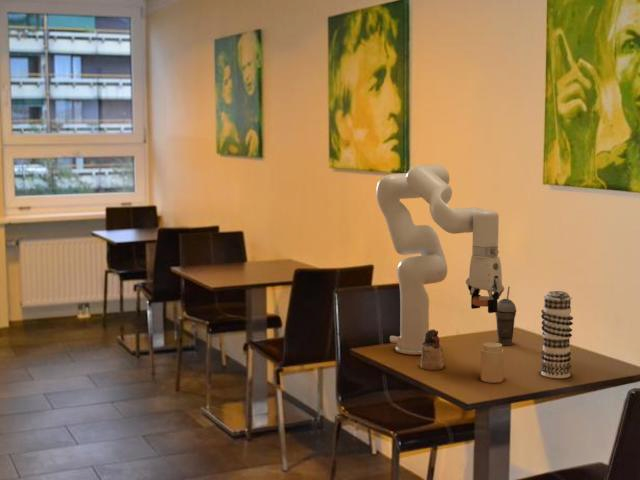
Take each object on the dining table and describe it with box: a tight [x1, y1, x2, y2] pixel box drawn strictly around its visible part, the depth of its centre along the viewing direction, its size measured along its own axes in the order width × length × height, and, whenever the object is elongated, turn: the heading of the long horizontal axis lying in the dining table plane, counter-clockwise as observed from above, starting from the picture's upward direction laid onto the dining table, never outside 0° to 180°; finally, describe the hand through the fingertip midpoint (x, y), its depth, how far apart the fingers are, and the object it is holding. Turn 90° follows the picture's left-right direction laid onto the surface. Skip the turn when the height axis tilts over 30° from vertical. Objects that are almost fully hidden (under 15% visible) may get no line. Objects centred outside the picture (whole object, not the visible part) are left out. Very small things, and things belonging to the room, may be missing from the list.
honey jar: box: [480, 341, 505, 384], centre depth 263 cm, size 7×7×11 cm
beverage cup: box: [494, 286, 517, 346], centre depth 306 cm, size 7×7×20 cm
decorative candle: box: [540, 290, 574, 379], centre depth 267 cm, size 9×9×25 cm
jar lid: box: [472, 295, 490, 308], centre depth 268 cm, size 7×7×2 cm
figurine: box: [419, 328, 445, 371], centre depth 277 cm, size 7×7×12 cm
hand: (484, 309), depth 269 cm, fingers closed on jar lid, 6 cm apart
